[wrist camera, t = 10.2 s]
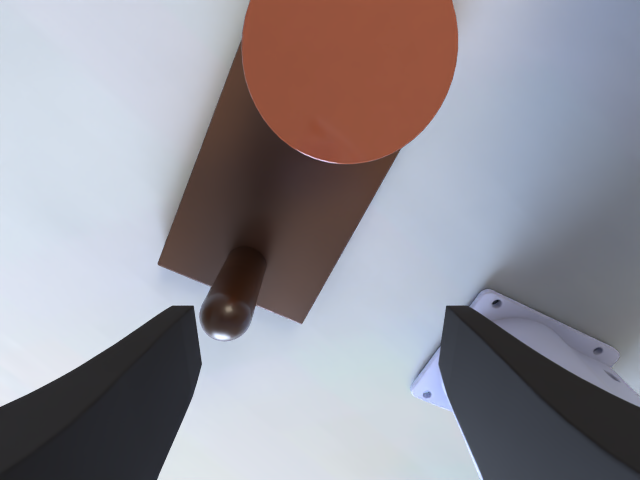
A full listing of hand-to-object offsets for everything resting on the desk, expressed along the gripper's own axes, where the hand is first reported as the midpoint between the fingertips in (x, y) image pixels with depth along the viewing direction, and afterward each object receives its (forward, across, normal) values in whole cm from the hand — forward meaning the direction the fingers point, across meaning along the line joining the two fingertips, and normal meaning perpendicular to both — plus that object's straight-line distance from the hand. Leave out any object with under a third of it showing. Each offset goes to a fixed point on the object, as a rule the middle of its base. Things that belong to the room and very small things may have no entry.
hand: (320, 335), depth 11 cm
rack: (+9, +2, -3) cm, 10 cm away
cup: (+8, -1, -7) cm, 11 cm away
